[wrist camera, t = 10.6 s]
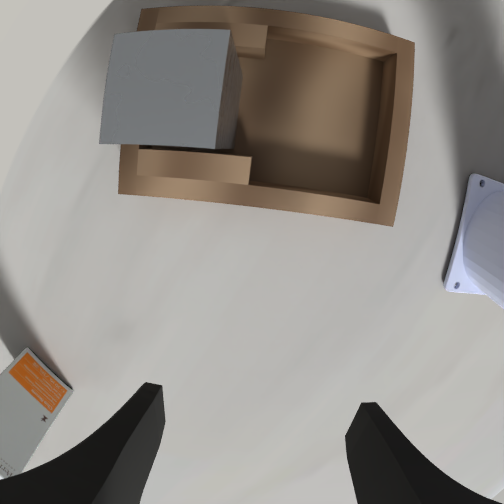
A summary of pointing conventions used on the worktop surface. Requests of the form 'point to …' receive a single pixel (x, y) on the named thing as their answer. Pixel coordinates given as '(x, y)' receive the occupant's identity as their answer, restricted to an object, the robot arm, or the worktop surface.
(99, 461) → the robot arm
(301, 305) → the worktop surface
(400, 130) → the wooden tray
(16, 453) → the skincare box
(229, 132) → the metal peg
